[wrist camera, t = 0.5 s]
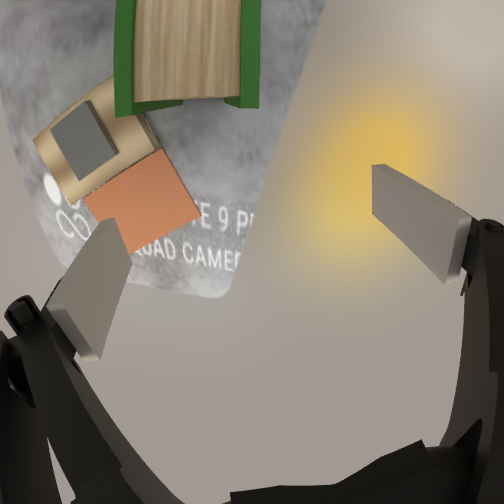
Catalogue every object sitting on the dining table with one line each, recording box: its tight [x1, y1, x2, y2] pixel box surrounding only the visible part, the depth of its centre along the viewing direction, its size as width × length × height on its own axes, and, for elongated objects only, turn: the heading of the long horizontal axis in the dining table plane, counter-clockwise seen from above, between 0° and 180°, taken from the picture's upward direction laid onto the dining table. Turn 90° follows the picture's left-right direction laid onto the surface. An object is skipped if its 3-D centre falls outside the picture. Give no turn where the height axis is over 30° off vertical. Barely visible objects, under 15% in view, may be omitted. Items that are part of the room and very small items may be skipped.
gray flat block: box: [50, 100, 120, 181], centre depth 30 cm, size 8×6×2 cm
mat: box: [83, 148, 201, 254], centre depth 40 cm, size 11×14×1 cm
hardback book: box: [114, 0, 261, 118], centre depth 19 cm, size 18×7×24 cm, turn 179°
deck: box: [33, 75, 161, 205], centre depth 32 cm, size 11×14×4 cm
